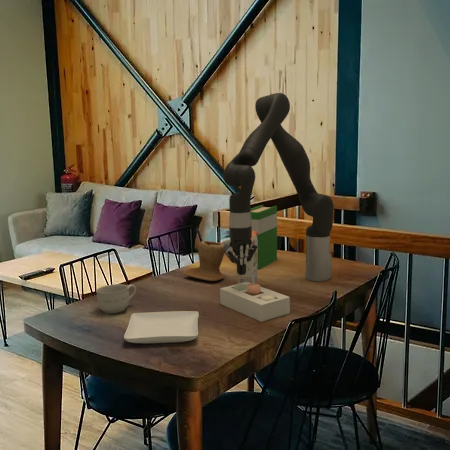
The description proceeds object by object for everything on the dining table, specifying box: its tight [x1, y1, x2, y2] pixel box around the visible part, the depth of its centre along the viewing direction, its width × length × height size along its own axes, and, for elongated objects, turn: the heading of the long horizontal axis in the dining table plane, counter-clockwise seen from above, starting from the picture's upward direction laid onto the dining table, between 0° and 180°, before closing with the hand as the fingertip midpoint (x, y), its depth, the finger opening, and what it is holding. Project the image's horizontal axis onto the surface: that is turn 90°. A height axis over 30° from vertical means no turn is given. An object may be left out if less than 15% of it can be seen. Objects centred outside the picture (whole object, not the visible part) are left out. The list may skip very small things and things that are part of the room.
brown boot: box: [183, 240, 226, 282], centre depth 226 cm, size 15×12×15 cm
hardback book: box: [251, 204, 278, 271], centre depth 245 cm, size 18×7×24 cm, turn 150°
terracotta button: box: [247, 283, 262, 295], centre depth 191 cm, size 4×4×3 cm
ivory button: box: [261, 294, 274, 301], centre depth 186 cm, size 4×4×3 cm
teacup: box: [95, 283, 137, 314], centre depth 192 cm, size 14×11×8 cm
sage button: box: [234, 283, 247, 291], centre depth 197 cm, size 4×4×3 cm
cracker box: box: [236, 231, 258, 284], centre depth 210 cm, size 14×6×21 cm, turn 168°
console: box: [219, 282, 291, 323], centre depth 191 cm, size 12×22×6 cm, turn 36°
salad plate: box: [123, 310, 200, 344], centre depth 172 cm, size 21×21×3 cm
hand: (241, 274), depth 195 cm, fingers closed
